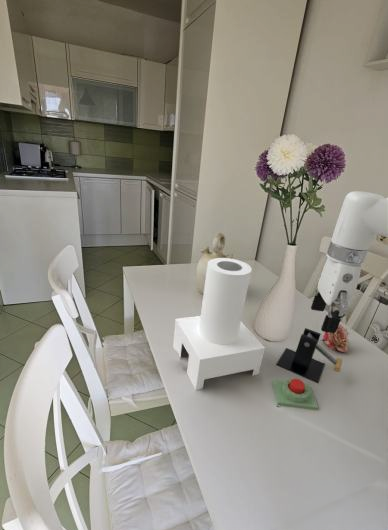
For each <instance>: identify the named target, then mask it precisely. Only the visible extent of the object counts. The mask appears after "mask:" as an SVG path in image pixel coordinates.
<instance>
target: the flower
mask: <svg viewBox="0 0 388 530" xmlns="http://www.w3.org/2000/svg"><path fill="white" fill-rule="evenodd" d="M323 333H324V334H323V336H322V339H319V341H322V342H323V344H325V345H326V346H327V347H328V348H330V349H331V350H334V351H336V349H337V351H339V352H341V353H345V352H348V351H349V349H348V344H349V338H348V335H349V332H348V328H345V327H344V326H343V325H342V324H339V326H338V328H337V331H336V333H330V332H323Z"/></svg>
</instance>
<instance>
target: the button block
mask: <svg viewBox="0 0 388 530" xmlns="http://www.w3.org/2000/svg"><path fill="white" fill-rule="evenodd" d="M292 379H293V378H288V379H285V380H278V379H272V381H271V383H272V389H273V392H274V396H275V401H276V405H275V407H276V408H280V406H283V407H291V408H300V409H307V410H309V409H310V410H313V411H318V409H319V406H318V403H317V400H316V398H315V394H314V392H313V390H312V387H311V384H310V383H304V384H305V388H304V391H303V393H301V394H296V393H294V392H292V391H291V390H290V389H289V385H290V382H291V380H292Z"/></svg>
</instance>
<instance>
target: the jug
mask: <svg viewBox="0 0 388 530" xmlns="http://www.w3.org/2000/svg"><path fill="white" fill-rule="evenodd" d="M225 245H226V236H225V235H224V234H223V233H222V232H218V233H216V234H215V235H214V238H213V241H212V251H213V252H210V246H205V247H204V248H201V249H200V250H199V252H200V253H202V254H203V255H202V257H201V258H200V259H199V261H198V262H197V266H196V282H197V283H196V284H197V289H198V292H199V293H201V294H202V295H203V294H204V287H205V279H206V272H207V264H208V262H209V261H210V260H211V259H215V258H230V259H234V254H233V253H230V254H224V253H223V251H224V248H225V247H226V246H225Z"/></svg>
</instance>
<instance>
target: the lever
mask: <svg viewBox="0 0 388 530" xmlns="http://www.w3.org/2000/svg"><path fill="white" fill-rule="evenodd" d="M306 336H309V337H311V338H314V339H316V338H315V337H314V336H313V335H312V334H311V333H308V334H307V335H306ZM316 340H317V339H316ZM315 348H316V349H315V350H317V351H318V352H319V353H320V354H322V356H324V357H325V358H326V359H327V360H328V361H329V362H330V363H331V364H333V365H334V366H333V371H334V372H335V373H340V371H341V367H342V365H343V359H342V358H341V357H336V358H335V357H333V355H331V354H330V353H329V352H328V351H327V350H326V349H325V348H323V347H322V346H321V345H320V344H319V343H317V344H316V347H315Z"/></svg>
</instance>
